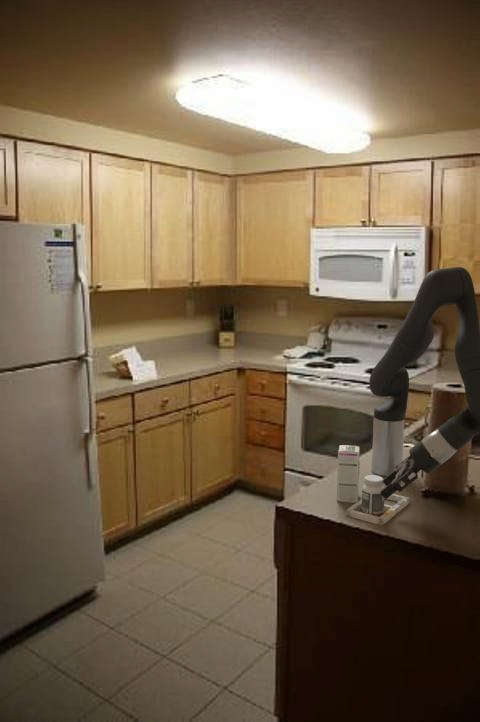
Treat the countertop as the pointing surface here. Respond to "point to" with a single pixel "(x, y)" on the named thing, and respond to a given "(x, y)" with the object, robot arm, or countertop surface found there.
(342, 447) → the syrup box
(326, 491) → the countertop surface
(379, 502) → the pill bottle
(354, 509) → the plate
